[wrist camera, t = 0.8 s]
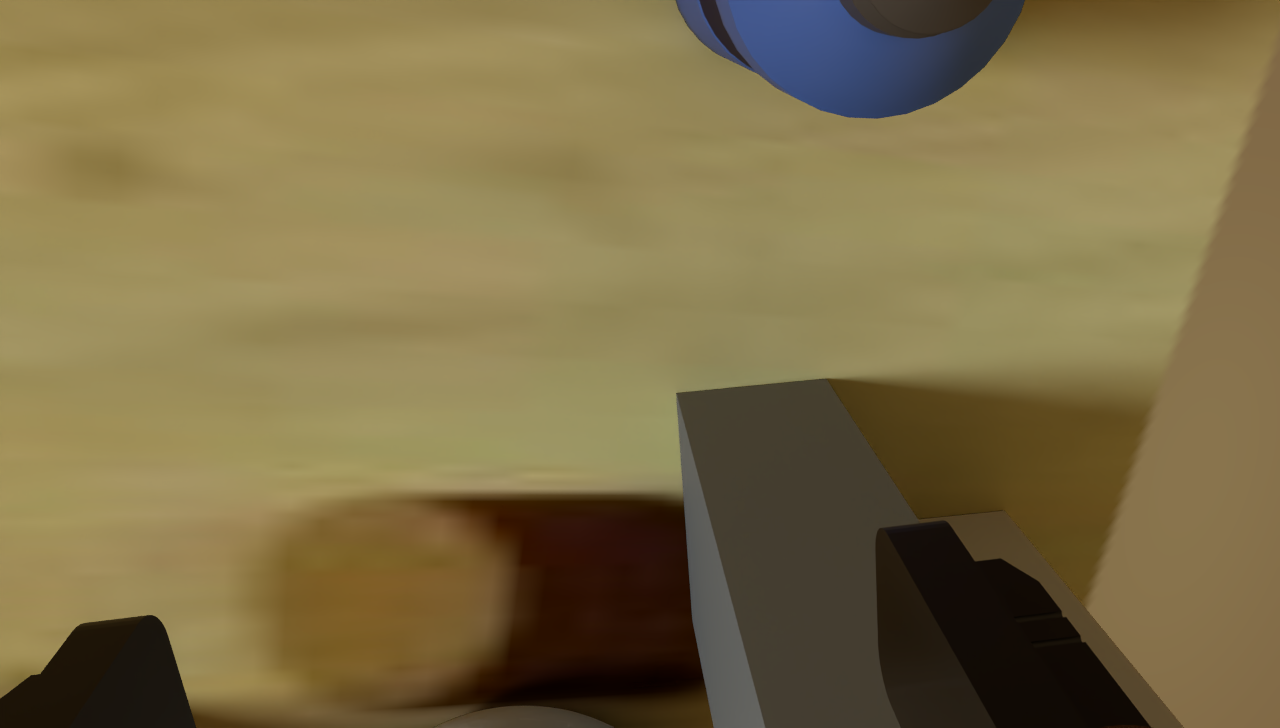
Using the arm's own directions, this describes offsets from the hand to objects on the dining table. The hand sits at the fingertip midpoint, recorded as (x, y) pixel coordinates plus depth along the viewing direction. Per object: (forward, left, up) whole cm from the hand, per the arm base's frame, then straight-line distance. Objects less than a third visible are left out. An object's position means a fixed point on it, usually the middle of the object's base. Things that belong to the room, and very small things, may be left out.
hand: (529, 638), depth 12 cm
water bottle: (+12, -3, -42) cm, 44 cm away
